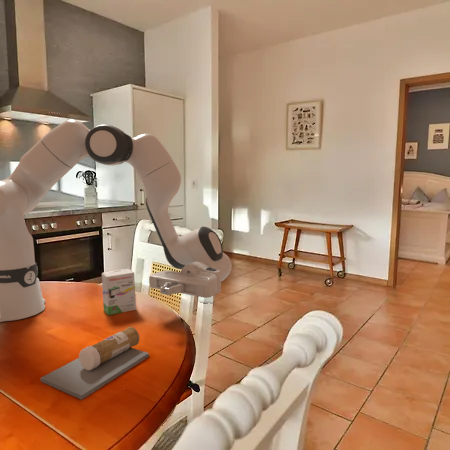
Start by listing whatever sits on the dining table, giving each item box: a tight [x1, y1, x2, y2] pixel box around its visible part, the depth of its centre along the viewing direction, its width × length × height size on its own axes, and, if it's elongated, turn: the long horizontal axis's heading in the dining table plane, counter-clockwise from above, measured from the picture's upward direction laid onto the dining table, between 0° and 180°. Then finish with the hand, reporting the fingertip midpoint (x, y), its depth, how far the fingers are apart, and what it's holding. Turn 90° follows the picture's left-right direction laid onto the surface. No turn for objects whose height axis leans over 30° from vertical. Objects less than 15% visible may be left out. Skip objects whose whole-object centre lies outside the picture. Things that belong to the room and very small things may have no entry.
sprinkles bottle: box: [78, 326, 140, 370], centre depth 80 cm, size 5×5×13 cm
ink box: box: [101, 268, 137, 316], centre depth 109 cm, size 8×5×12 cm, turn 123°
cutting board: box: [40, 347, 150, 400], centre depth 77 cm, size 18×12×1 cm, turn 150°
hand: (164, 291), depth 94 cm, fingers closed
